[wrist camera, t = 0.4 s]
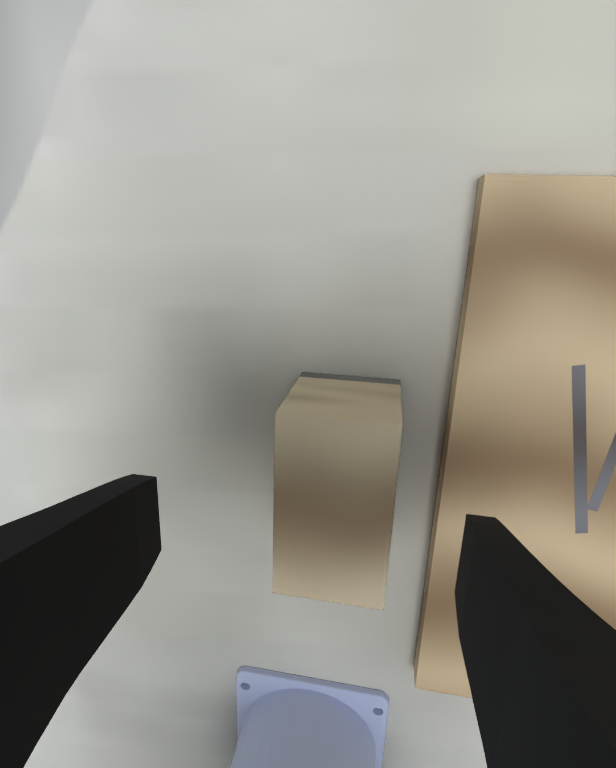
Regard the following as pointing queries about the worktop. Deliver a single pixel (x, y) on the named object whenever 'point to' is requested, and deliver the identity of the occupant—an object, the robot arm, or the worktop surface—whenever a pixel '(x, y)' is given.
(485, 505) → the board
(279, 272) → the worktop surface
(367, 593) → the block
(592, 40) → the worktop surface
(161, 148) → the worktop surface
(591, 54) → the worktop surface
